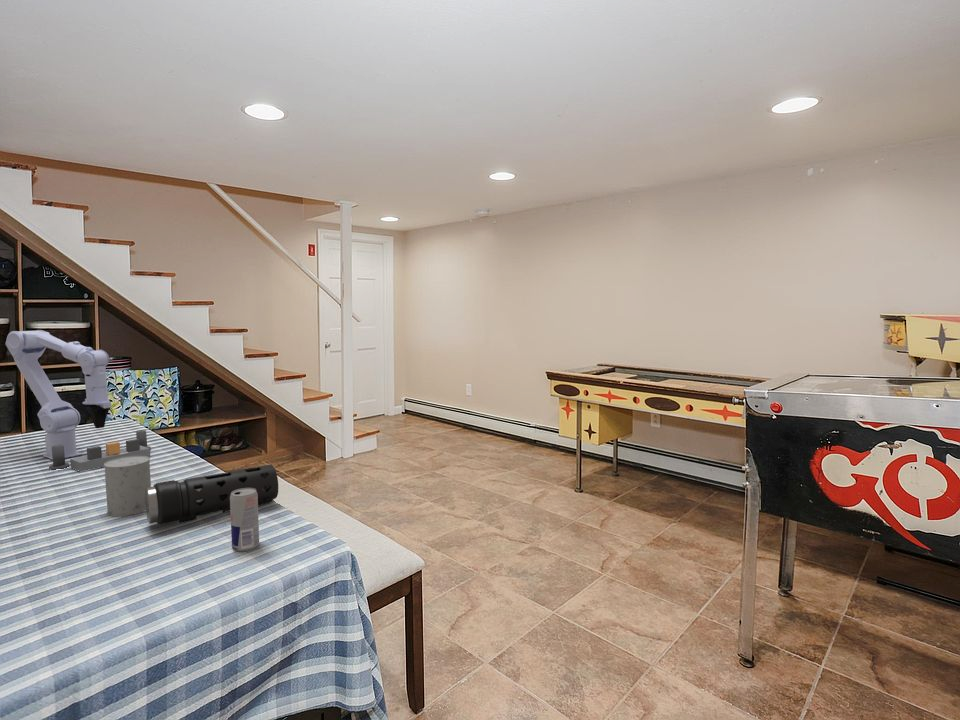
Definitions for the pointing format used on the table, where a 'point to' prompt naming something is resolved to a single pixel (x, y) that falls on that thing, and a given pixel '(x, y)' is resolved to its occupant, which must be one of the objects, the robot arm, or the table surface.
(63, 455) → the grey disc-based knob
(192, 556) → the table surface
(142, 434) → the post
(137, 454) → the box
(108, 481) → the concrete cylinder
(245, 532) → the energy drink
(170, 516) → the muzzle brake
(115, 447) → the switch
